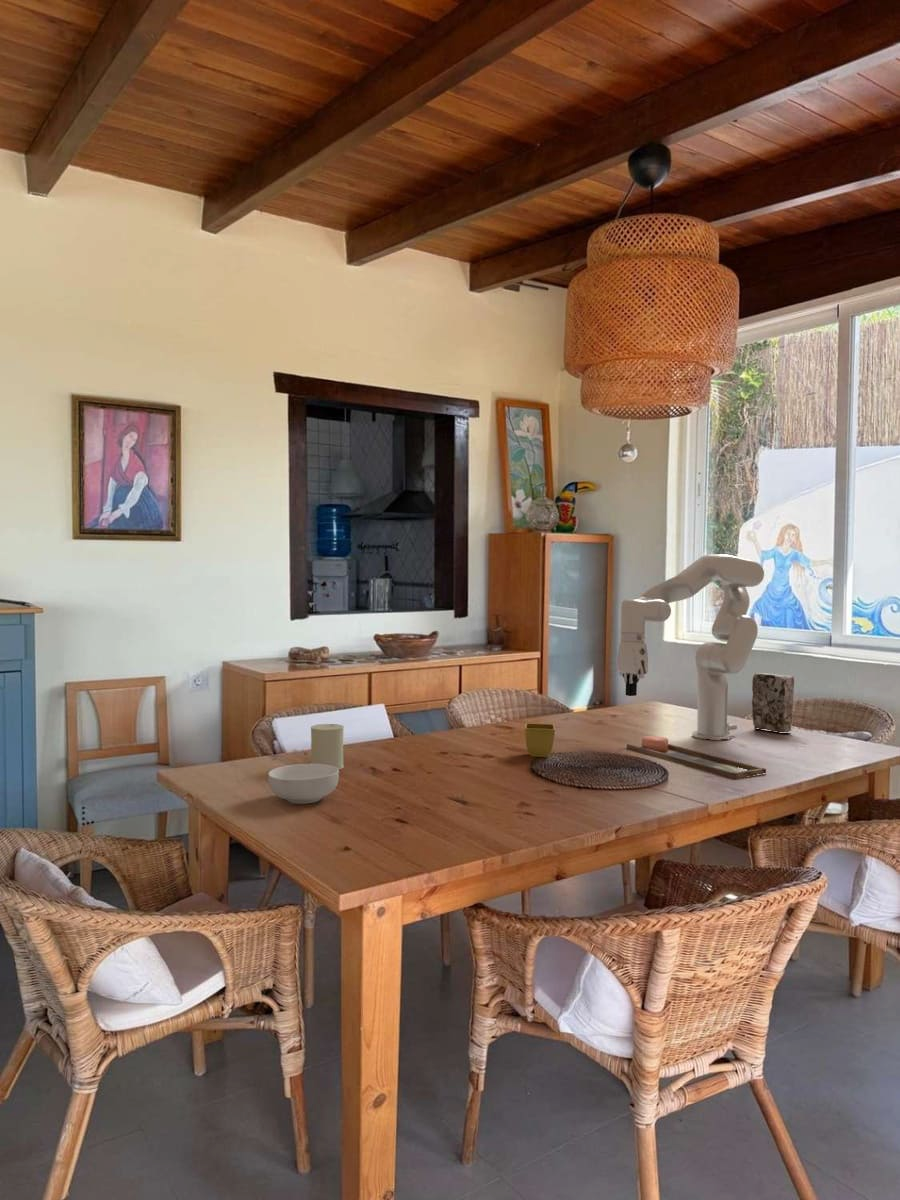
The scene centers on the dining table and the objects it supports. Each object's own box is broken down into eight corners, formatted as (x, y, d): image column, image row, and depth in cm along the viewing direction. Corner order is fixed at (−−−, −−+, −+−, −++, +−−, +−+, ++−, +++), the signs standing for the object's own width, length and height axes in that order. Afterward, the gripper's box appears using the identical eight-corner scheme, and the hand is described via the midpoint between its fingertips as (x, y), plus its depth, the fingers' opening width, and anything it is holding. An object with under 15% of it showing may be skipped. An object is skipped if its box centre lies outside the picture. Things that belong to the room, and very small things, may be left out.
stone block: (794, 733, 304) (795, 675, 303) (784, 735, 299) (785, 676, 299) (758, 727, 314) (759, 671, 313) (748, 730, 309) (749, 673, 308)
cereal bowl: (307, 787, 226) (307, 759, 226) (353, 798, 215) (353, 769, 215) (253, 800, 213) (253, 771, 212) (299, 813, 202) (299, 782, 202)
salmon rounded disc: (655, 746, 279) (655, 735, 279) (673, 751, 272) (673, 739, 272) (636, 748, 275) (636, 737, 275) (653, 753, 268) (653, 742, 268)
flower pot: (554, 753, 269) (554, 723, 269) (554, 759, 260) (555, 729, 260) (525, 752, 270) (525, 723, 269) (524, 758, 261) (524, 728, 261)
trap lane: (656, 745, 282) (656, 740, 282) (765, 774, 243) (766, 768, 243) (626, 748, 276) (626, 744, 276) (734, 779, 237) (734, 773, 237)
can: (350, 766, 250) (350, 723, 249) (332, 772, 241) (332, 729, 241) (322, 762, 254) (322, 721, 253) (304, 769, 245) (304, 726, 245)
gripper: (657, 639, 277) (656, 698, 278) (626, 636, 290) (624, 692, 291) (639, 640, 273) (637, 699, 274) (608, 636, 287) (606, 693, 287)
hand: (631, 695), depth 282 cm, fingers closed
